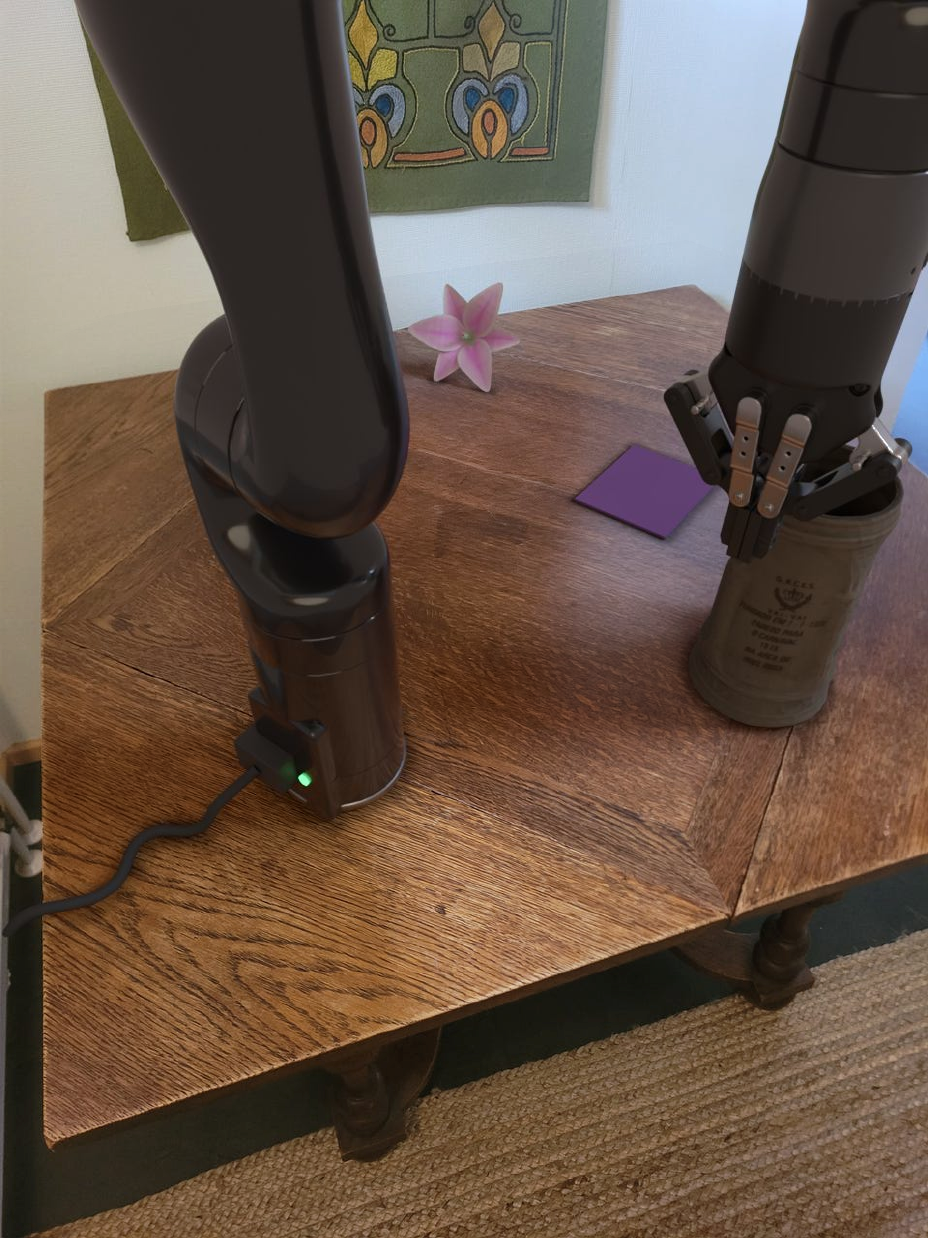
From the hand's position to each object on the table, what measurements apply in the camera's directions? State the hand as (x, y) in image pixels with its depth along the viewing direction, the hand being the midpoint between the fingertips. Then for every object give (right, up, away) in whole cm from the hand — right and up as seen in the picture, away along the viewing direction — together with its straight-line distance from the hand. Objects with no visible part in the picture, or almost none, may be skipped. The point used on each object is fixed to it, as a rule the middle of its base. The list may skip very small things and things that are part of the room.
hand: (744, 552), depth 51 cm
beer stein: (+7, -7, +21) cm, 23 cm away
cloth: (+2, +9, +37) cm, 38 cm away
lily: (-16, +26, +54) cm, 62 cm away
